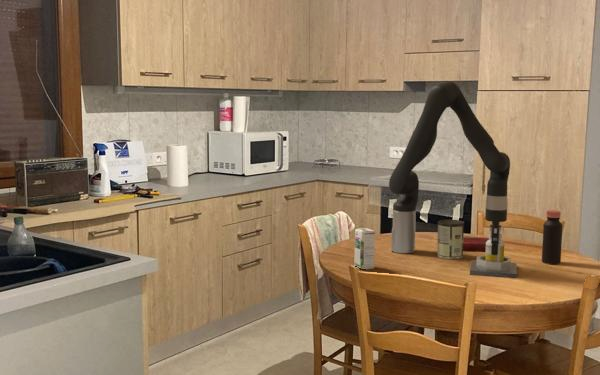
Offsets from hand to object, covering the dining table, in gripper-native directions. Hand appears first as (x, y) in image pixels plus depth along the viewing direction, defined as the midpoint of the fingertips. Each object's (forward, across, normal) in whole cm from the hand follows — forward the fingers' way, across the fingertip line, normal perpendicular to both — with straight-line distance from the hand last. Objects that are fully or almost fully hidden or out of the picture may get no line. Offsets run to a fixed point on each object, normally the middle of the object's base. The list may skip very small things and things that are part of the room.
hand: (494, 252), depth 234 cm
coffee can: (+7, +18, +17) cm, 26 cm away
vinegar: (+7, +18, -21) cm, 29 cm away
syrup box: (+7, -10, +46) cm, 48 cm away
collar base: (+7, 0, 0) cm, 7 cm away
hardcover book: (+7, +34, +12) cm, 37 cm away
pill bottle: (+5, 0, 0) cm, 5 cm away
